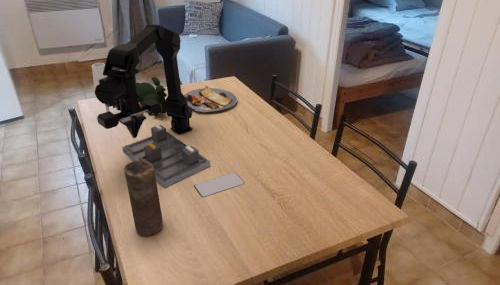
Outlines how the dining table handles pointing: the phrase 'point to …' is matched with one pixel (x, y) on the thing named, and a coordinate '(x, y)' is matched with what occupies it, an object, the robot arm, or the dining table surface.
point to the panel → (166, 159)
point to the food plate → (210, 99)
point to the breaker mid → (152, 152)
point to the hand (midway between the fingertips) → (134, 137)
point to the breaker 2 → (190, 155)
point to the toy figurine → (152, 93)
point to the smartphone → (218, 184)
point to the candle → (143, 197)
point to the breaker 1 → (159, 133)
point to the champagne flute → (98, 75)
